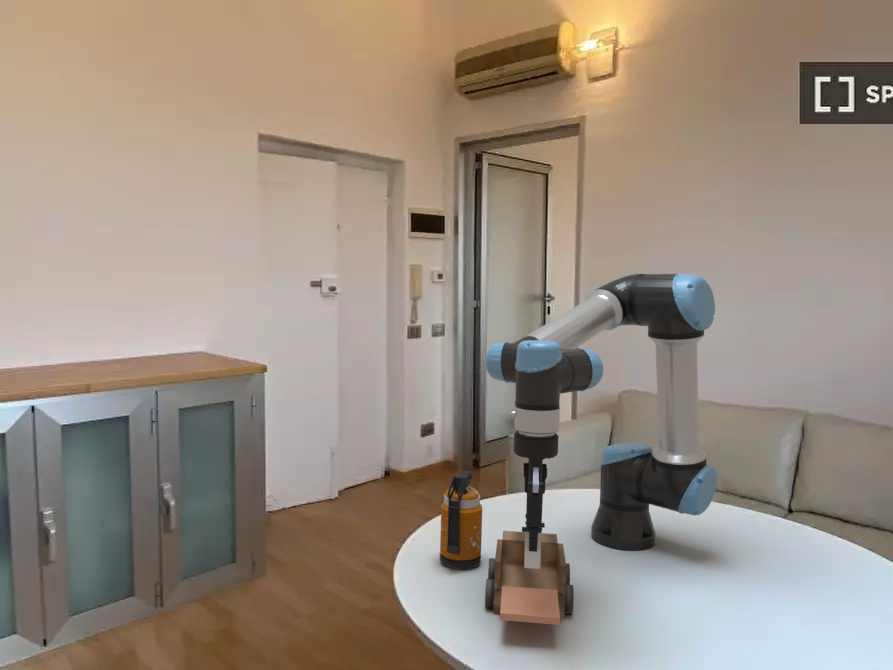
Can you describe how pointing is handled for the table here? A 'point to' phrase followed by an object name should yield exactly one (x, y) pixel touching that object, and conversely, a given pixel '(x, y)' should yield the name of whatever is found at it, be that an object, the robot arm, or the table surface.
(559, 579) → the truck
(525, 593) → the panel
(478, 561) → the canister
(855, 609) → the table surface
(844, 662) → the table surface
